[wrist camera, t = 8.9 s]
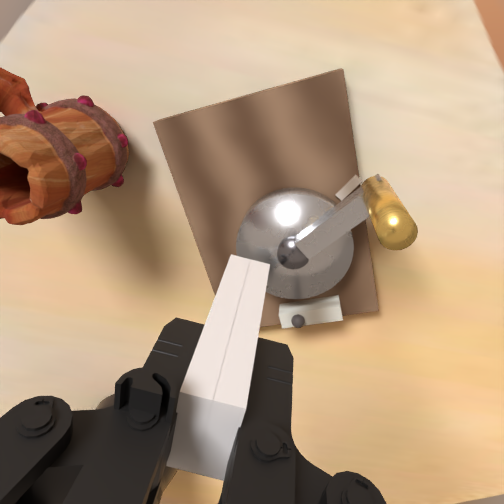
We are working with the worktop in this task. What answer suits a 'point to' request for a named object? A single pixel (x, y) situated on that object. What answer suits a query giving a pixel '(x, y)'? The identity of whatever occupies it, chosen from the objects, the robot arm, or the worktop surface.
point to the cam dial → (318, 234)
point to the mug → (53, 153)
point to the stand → (270, 179)
